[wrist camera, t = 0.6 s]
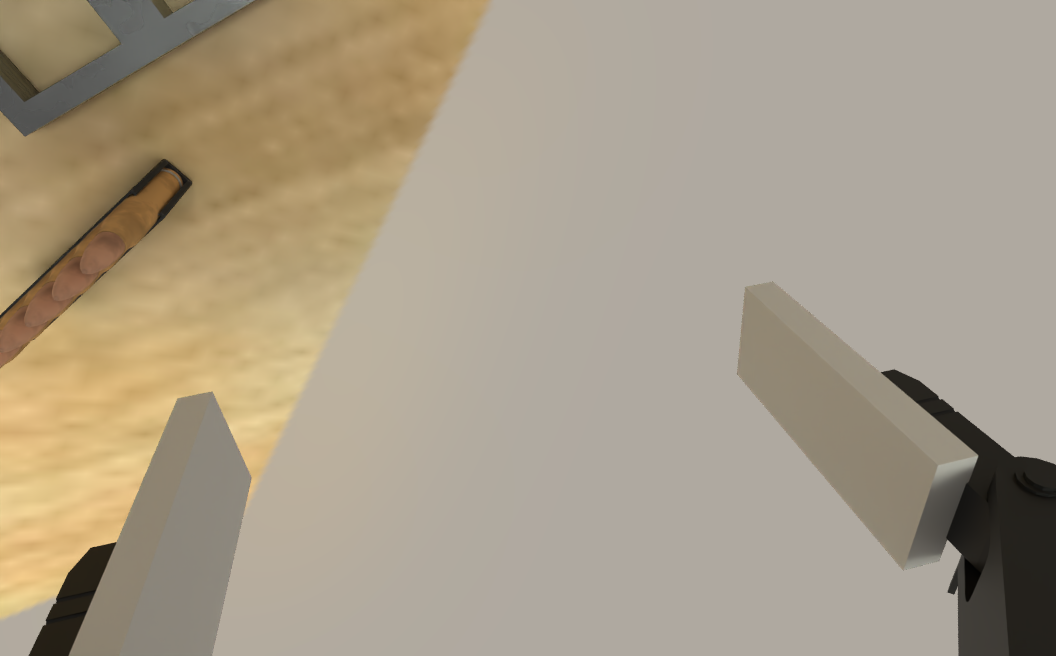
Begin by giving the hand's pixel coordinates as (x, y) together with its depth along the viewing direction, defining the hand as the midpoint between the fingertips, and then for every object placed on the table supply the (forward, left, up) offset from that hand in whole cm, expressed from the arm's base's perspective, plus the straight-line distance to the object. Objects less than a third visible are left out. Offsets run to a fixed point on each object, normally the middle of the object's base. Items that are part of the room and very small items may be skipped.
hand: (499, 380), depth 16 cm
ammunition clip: (-4, -18, -25) cm, 31 cm away
